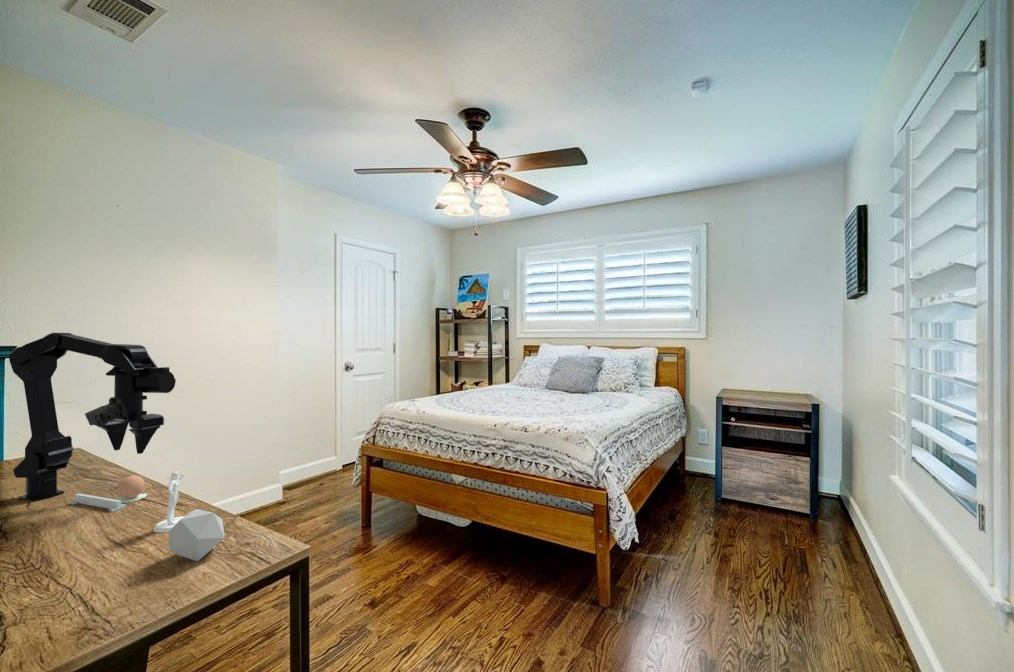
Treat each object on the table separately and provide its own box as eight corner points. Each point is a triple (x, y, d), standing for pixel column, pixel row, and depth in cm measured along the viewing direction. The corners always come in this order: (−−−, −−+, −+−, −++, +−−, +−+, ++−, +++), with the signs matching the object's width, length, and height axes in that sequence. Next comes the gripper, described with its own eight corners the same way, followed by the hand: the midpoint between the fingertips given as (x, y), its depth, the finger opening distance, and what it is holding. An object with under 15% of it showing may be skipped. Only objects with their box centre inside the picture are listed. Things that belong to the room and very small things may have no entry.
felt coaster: (109, 501, 112) (109, 500, 112) (137, 493, 118) (137, 492, 118) (126, 504, 110) (126, 503, 110) (153, 495, 116) (153, 494, 116)
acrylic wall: (69, 504, 110) (69, 496, 110) (84, 499, 113) (84, 492, 113) (112, 511, 105) (112, 503, 105) (126, 507, 108) (126, 499, 108)
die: (235, 553, 86) (232, 503, 91) (204, 550, 79) (202, 496, 83) (192, 571, 85) (191, 520, 90) (155, 570, 78) (156, 514, 83)
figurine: (188, 529, 96) (188, 474, 96) (148, 535, 93) (147, 478, 93) (197, 516, 102) (196, 465, 102) (159, 521, 100) (159, 468, 100)
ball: (112, 500, 112) (111, 478, 112) (136, 493, 117) (135, 472, 117) (126, 502, 110) (126, 480, 110) (150, 494, 116) (150, 474, 116)
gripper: (68, 394, 111) (67, 456, 111) (116, 398, 105) (115, 464, 105) (119, 389, 122) (118, 445, 122) (165, 393, 116) (165, 452, 116)
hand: (128, 451), depth 116 cm, fingers open, 9 cm apart
